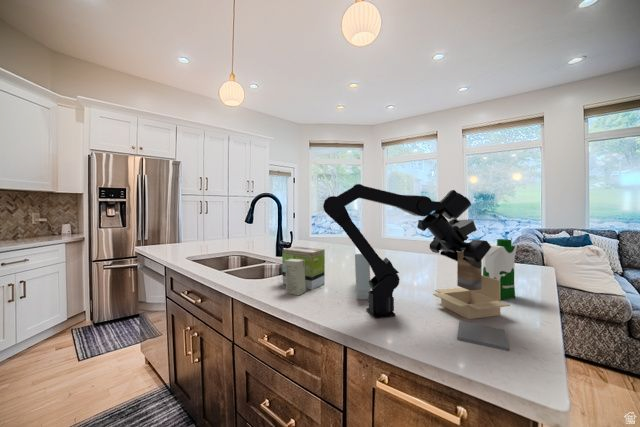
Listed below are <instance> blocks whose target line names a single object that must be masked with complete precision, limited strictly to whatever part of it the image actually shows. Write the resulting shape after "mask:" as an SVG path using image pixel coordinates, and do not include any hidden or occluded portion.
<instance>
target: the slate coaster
mask: <svg viewBox="0 0 640 427" xmlns="http://www.w3.org/2000/svg"><path fill="white" fill-rule="evenodd" d="M457 327H458V329H457V335H456V340H459V341H464V342H469V343H472V344H478V345H482V346H485V347H486V346H487V347H490V348H491V347H492V348H495V349H496V348H497V349H500V350H506V351H509V350H510V345H509V342H508V338H507V334H506V330H505V328H499V327H494V326H493V327H492V326H487V325H482V324H476V323H472V322H471V323H470V322H466V321H462V320H461V321H460V320H459V321H458V326H457Z"/></svg>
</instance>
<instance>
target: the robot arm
mask: <svg viewBox="0 0 640 427" xmlns="http://www.w3.org/2000/svg"><path fill="white" fill-rule="evenodd" d="M357 199H362V200H366V201H370V202H374V203H378V204H382V205H386V206H390V207H395V208H396V209H399V210H401V211H403V212H405V213H408V214H409V215H412V216H416V217H424V218H422V219H418V223H417V226H416V227H417V229H419V230H421V231H423V232H425V231H426V230H428V231H429V232H430V233H431V234H432V235H433V236H434V237H433V238H432V241H431V242H430V244H429V250H430V251H431V252H432V253H435V254H439V253H440V254H439V255H441V256H443V257H445V258H448V259H451V260H453V261H455V262H458V252H462V250H464V253H463V256H464V258H463V259H462V260H464V261H466V262H467V263H469V264H471V265H473V266H475V267H477V268H479V269H480V268H481V267H482V268H483V264H482V265H481V260H482V261H483V257H484V256H485V255H486V253H487V252H488V251H489V250H490V248H491V245H490V244H491V243H489V242H488V241H487V240H485V239H484V240H483V239H472V240H471V241H470V242H465V241H467V240H468V239H469V236H468V235H471V234H472V233H474V232H476V231H477V226H476V224H475V221H474V220H473V219H458V218H459V217H461V215H462V214H464V213H465V212H466V211H467V210H468V209H469V208H470V207H471V206H472V202H471V201H470V199H469V198H468V197H466V196H465V195H462V194H461V193H459V192H457V191H456V190H455V189H453V190H452V189H451V190H449V191H448V192H447V194H446V195H445V196H444V197H443V198H442V199H441V200H440V201H435V200H432V199H431V197H428V196H425V195H410V194H405V195H404V194H400V193H399V194H398V193H396V192H390V191H388V190H387V191H386V190H382V189H379V188H373V187H370V186H366V185H363V184H362V183H356V184H354V185H353V186H352V187H351V188H349V189H347V190H345V191H343V192H342V193H340V194H339V195H336V196H335V195H333V196H331V195H330V196H328V197H327V198H326V199H325V200H324V202H323V205H322V208H323V211H324V212H325V213H326V214H327V216H328V217H329V218H331V219H332V221H334V222H335V223H336V224H337V225H339V226H340V227H341V228H342V230H343V231H344V232H345V234H346V235H347V236H348V238H349V239H350V241H351V242H352V243H353V244H354V245H355V246H356V247H357V248H358V250H359V251H360V252H361V254H362V255H363V256H364V258H365V259H366V260H367V262H368V263H369V265H370V268H371V269H370V270H372V272H373V275H374V276H372V278H370V281H369V284H370V287H371V291H369V300H368V307H367V308H366V311H367V312H368V313H369V314H370V315H371V316H373V317H374V318H376V319H379V318H387V317H395V316H396V313H395V312H394V311H395V297H393V293H394V291H395V289H396V288H398V286H399V284H400V279H401V278H400V276H399V273H400V272H399V271H398V269H396V268H395V267H394V266H393V263H392V262H391V260H390V259H389V258H387V257H385V258H383V259H382V258H381V257H380V256H379V254H378V253H377V252H376V250H375V249H374V248H373V247H372V246H371V244H370V243H369V241H368V240H367V239H366V238H365V236H364V235H363V233H362V232H361V231H360V229H359V228H358V227H357V226H356V224H355V223H354V222H353V220H352V218H351V217H350V214H349V211H348V209H347V208H346V206H348V205H350V204H351V203H353V202H354V201H356V200H357ZM432 212H433V213H432ZM355 246H354V247H355Z"/></svg>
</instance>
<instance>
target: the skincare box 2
mask: <svg viewBox="0 0 640 427" xmlns="http://www.w3.org/2000/svg"><path fill="white" fill-rule="evenodd" d="M354 247H355V248H354V249H355V250H354V269H355V270H354V271H355V273H354V274H355V289H356V290H355V291H356V293H355V294H356V300H366V301H367V300H368V301H369V291H372V289H371V287H370V284H369V281H370V280H371V271H370V270H371V269H370V268H371V267H370V265H369V263H368V262H367V260H366V259H365V258H364V256H363V255H362V254H361V252H360V251H359V250H358V248H357V247H356V246H354Z"/></svg>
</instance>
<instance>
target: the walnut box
mask: <svg viewBox="0 0 640 427" xmlns="http://www.w3.org/2000/svg"><path fill="white" fill-rule="evenodd" d="M463 253H464V250H462V252H458V262H457V261H456V262H457V265H456V266H457V272H456V273H457V280H456V282H457V283H456V284H457V285H456V286H457V287H458V288H465V289H467V290H470V291H471V290H481V284H482V275H483V259H482V260H481V265H482V267H481V268H480V269H479V268H477V267H475V266H473V265H471V264H469V263H467V262H466V261H464V260H462V259H463V258H464V256H463Z"/></svg>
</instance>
